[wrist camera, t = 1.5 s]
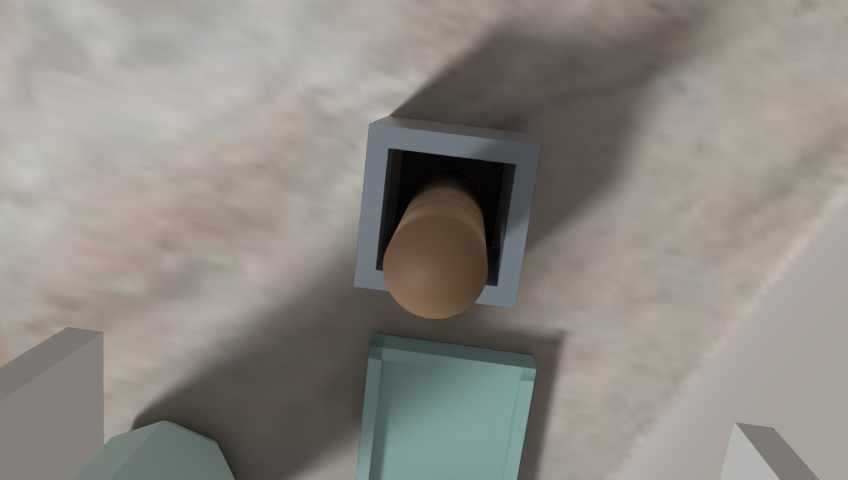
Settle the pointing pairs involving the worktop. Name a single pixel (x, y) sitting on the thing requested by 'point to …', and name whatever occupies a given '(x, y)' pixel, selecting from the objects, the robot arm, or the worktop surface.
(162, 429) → the water bottle
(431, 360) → the tray
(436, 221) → the dowel
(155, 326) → the worktop surface
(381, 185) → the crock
